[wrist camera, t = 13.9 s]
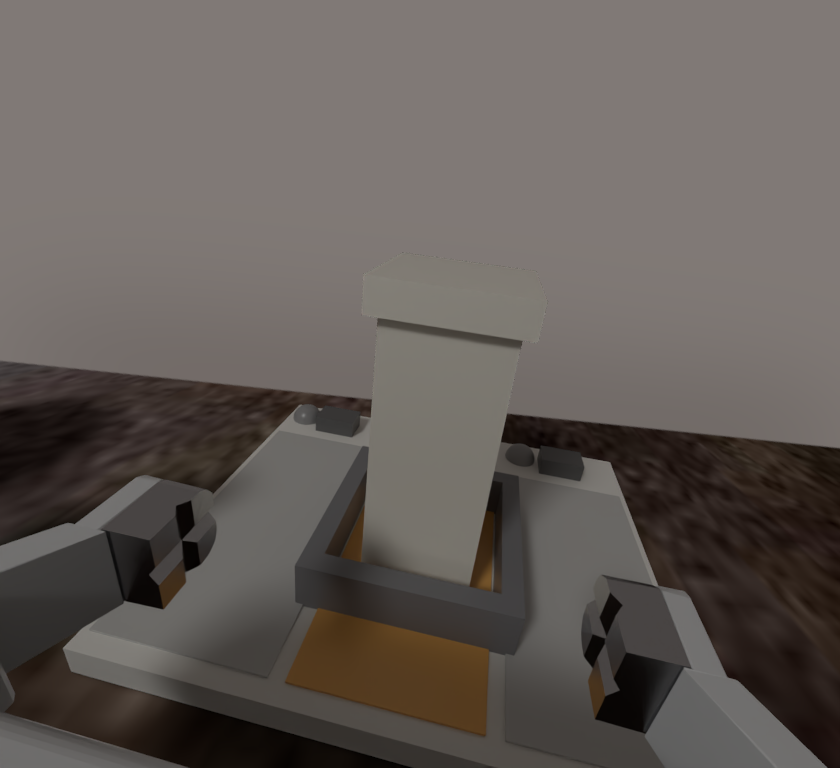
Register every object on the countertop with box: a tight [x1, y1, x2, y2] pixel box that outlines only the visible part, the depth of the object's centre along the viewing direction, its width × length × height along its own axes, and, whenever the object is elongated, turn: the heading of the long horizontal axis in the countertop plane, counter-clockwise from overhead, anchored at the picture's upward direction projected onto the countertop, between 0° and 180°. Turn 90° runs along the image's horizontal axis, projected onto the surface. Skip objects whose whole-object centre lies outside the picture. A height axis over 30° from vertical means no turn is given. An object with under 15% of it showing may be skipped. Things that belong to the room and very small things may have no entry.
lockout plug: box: [361, 253, 548, 586], centre depth 17 cm, size 5×5×12 cm
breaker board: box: [63, 404, 665, 768], centre depth 21 cm, size 21×18×3 cm
